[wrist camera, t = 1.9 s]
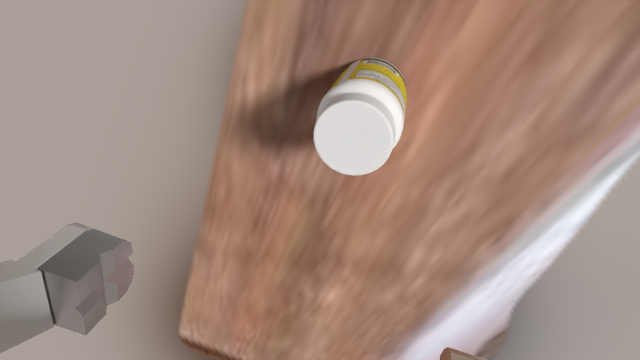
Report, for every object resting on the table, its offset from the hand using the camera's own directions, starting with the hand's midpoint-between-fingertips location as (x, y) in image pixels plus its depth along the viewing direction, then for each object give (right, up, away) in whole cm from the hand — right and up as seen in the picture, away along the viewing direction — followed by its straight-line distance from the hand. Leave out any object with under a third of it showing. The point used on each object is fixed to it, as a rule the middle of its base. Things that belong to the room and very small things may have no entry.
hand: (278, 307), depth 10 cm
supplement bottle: (+5, +9, +17) cm, 20 cm away
